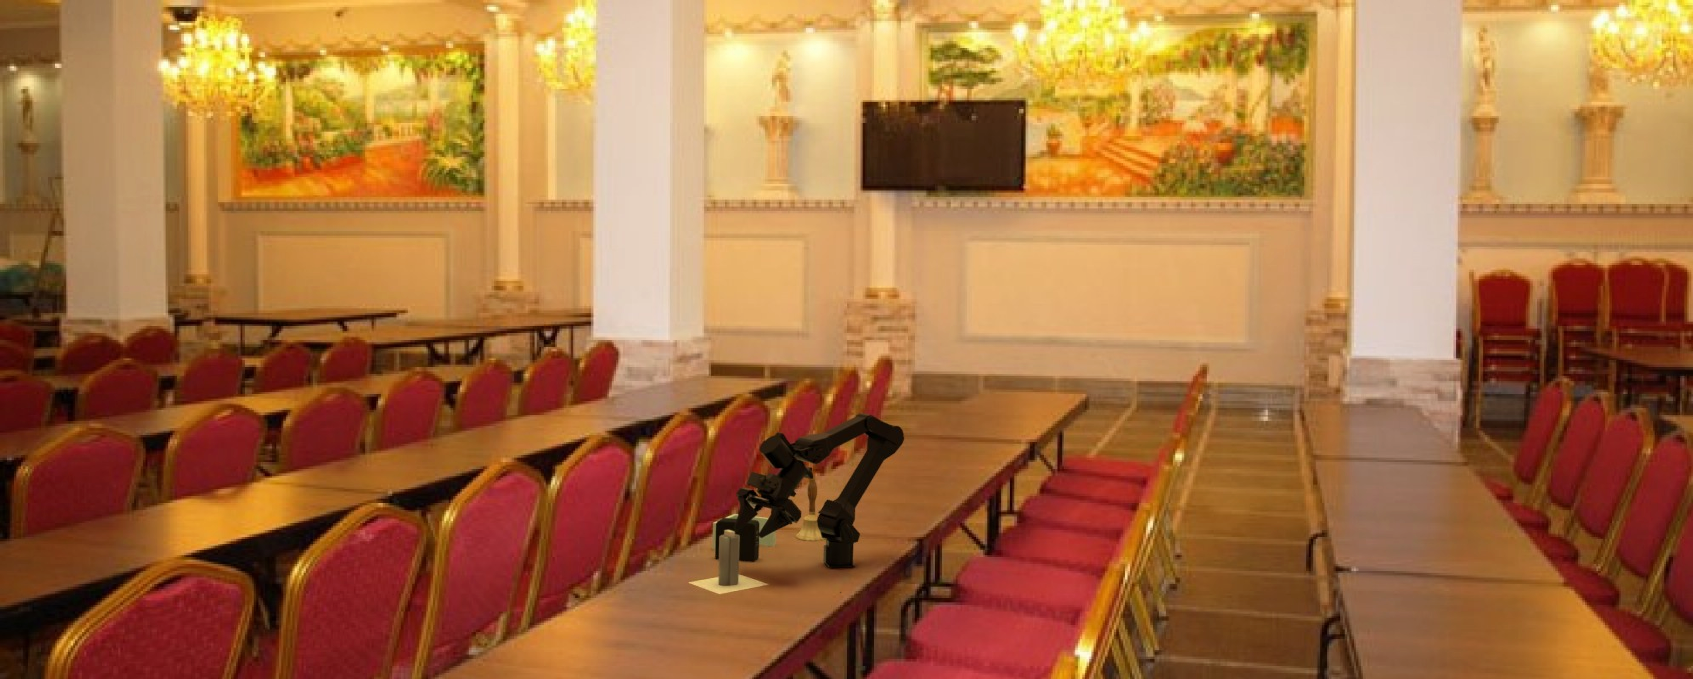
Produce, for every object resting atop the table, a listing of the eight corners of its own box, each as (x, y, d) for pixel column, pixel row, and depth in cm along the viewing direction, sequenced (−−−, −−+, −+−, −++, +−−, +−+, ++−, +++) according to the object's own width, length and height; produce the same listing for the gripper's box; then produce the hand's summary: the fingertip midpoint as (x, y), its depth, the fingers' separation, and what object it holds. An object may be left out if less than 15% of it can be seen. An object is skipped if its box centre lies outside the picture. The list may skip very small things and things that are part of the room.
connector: (731, 579, 312) (733, 527, 311) (742, 583, 309) (743, 531, 308) (714, 583, 308) (715, 530, 307) (724, 586, 305) (726, 533, 304)
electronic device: (754, 564, 329) (755, 523, 328) (714, 560, 331) (715, 520, 330) (758, 560, 333) (759, 520, 332) (719, 556, 335) (720, 517, 334)
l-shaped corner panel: (712, 551, 342) (713, 522, 342) (733, 542, 353) (734, 513, 353) (754, 557, 338) (755, 527, 337) (775, 547, 349) (775, 518, 348)
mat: (737, 575, 318) (737, 573, 317) (768, 586, 309) (768, 584, 309) (688, 584, 308) (688, 582, 308) (719, 596, 299) (719, 593, 299)
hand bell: (826, 541, 355) (828, 481, 354) (794, 540, 355) (796, 480, 354) (827, 534, 363) (829, 476, 362) (796, 533, 364) (798, 475, 362)
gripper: (743, 453, 320) (704, 504, 314) (793, 465, 306) (753, 518, 300) (768, 483, 326) (730, 533, 319) (818, 495, 312) (779, 548, 306)
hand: (747, 532), depth 311 cm, fingers open, 9 cm apart
